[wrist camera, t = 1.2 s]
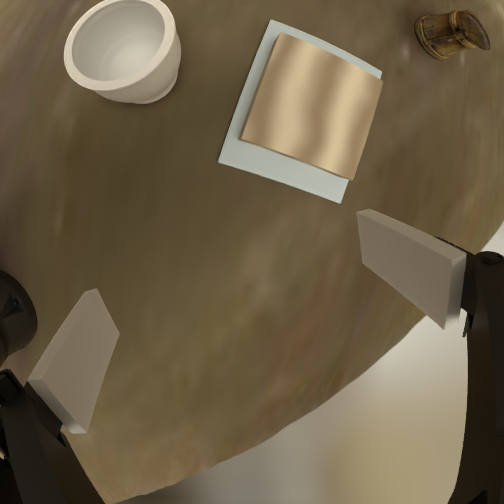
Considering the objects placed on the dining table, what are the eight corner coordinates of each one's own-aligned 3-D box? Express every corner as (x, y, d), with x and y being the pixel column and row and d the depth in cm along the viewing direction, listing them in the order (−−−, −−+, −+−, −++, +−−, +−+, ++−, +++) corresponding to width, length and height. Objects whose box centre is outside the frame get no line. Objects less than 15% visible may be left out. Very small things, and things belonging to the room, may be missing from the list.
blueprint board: (217, 161, 37) (218, 162, 36) (269, 22, 32) (270, 19, 30) (336, 202, 42) (340, 203, 41) (377, 73, 36) (382, 71, 35)
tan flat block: (237, 140, 36) (241, 138, 32) (273, 42, 32) (280, 31, 28) (339, 177, 39) (352, 180, 36) (368, 85, 35) (383, 81, 32)
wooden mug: (392, 31, 33) (465, 1, 17) (429, 12, 32) (495, -11, 15) (421, 75, 37) (500, 61, 20) (455, 50, 35) (524, 38, 18)
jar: (102, 109, 32) (51, 91, 18) (120, 41, 29) (83, -4, 15) (176, 115, 35) (159, 94, 21) (193, 45, 32) (189, -6, 18)
